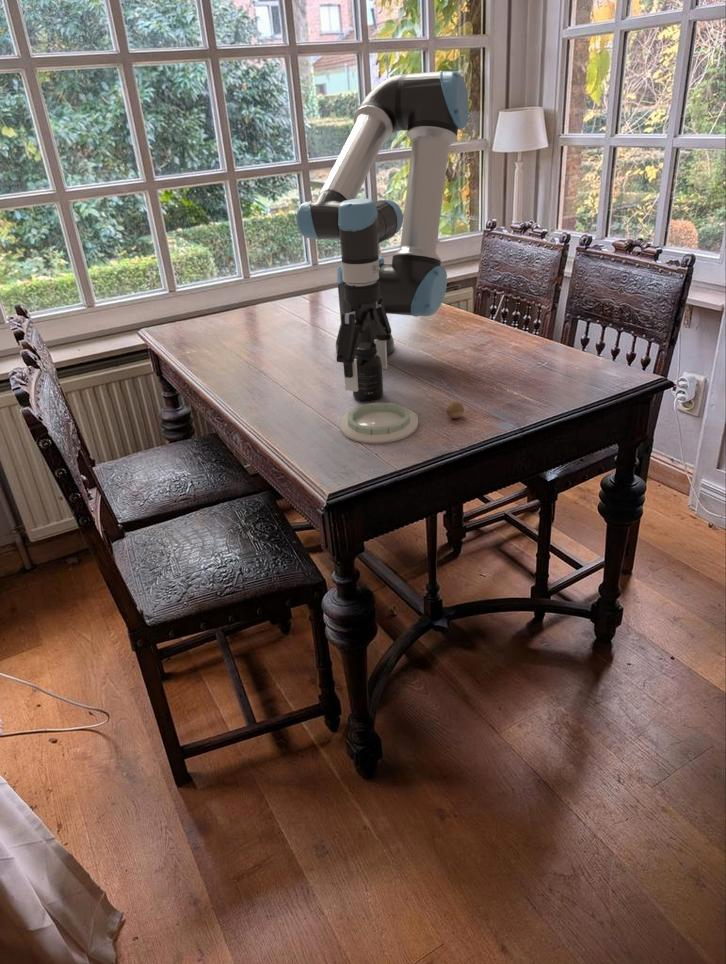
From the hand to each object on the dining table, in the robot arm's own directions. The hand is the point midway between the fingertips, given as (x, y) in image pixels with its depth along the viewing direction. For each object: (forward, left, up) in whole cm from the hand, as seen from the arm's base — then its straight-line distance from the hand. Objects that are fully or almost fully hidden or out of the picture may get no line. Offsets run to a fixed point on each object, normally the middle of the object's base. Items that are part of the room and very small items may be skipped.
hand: (367, 378), depth 150 cm
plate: (+9, -12, -4) cm, 16 cm away
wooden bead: (+22, -3, -4) cm, 23 cm away
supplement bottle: (0, 0, -4) cm, 4 cm away
